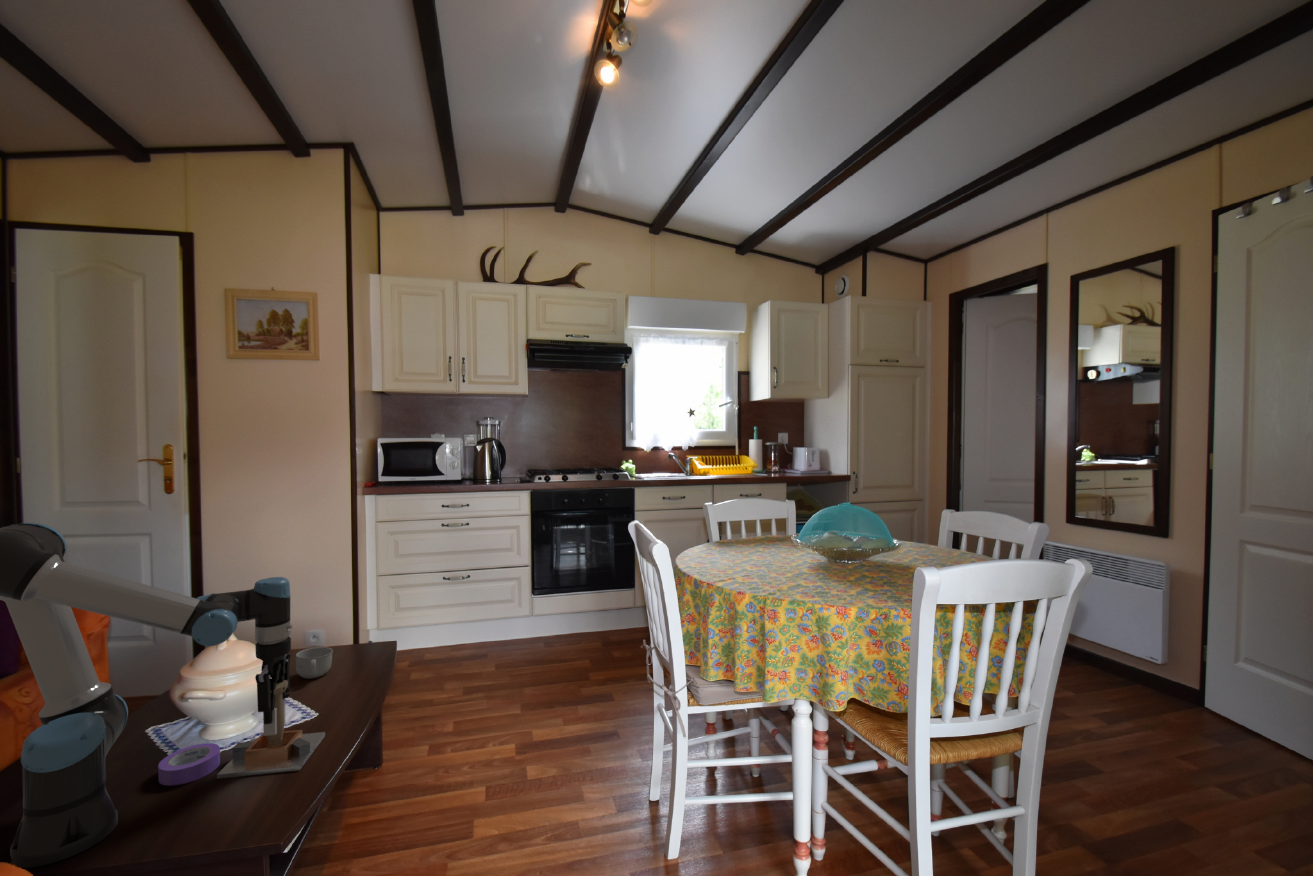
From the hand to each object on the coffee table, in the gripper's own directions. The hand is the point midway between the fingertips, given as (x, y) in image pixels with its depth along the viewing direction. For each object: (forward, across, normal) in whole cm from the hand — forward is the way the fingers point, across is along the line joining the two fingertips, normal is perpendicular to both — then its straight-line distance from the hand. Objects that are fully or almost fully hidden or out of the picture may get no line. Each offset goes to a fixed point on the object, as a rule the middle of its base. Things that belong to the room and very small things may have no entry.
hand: (274, 729), depth 144 cm
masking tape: (+7, -3, +18) cm, 19 cm away
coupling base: (+7, 0, 0) cm, 7 cm away
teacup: (+7, +49, +10) cm, 50 cm away
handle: (+4, 0, 0) cm, 4 cm away
